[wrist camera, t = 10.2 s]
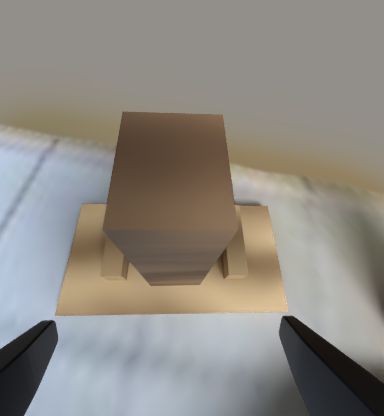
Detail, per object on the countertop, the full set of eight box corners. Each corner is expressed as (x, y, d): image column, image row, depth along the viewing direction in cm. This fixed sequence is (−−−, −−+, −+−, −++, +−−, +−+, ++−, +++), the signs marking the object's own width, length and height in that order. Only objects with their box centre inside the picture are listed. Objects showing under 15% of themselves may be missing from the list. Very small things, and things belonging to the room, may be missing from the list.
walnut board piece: (199, 284, 18) (238, 229, 6) (150, 286, 17) (102, 230, 6) (197, 228, 20) (222, 114, 9) (154, 228, 20) (122, 111, 8)
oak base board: (283, 311, 18) (301, 310, 15) (61, 315, 17) (39, 315, 14) (263, 210, 22) (275, 196, 20) (86, 208, 21) (73, 192, 18)
